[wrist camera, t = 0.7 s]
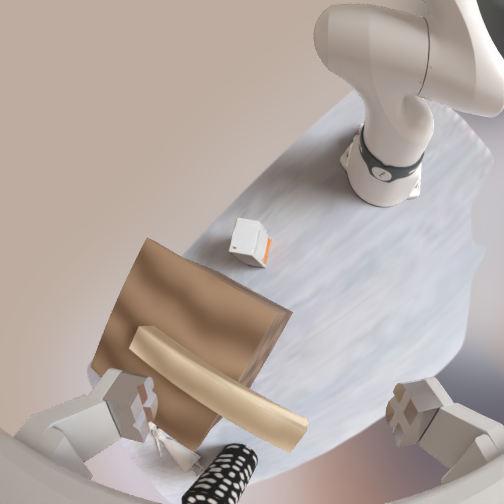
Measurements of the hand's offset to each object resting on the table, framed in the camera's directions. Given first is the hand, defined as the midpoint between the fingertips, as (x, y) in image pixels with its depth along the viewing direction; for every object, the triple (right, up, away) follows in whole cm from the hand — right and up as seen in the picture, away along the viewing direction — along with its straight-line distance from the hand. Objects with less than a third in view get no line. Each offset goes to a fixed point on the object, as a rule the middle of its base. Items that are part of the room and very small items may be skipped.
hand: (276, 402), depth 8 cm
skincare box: (+1, +5, +49) cm, 49 cm away
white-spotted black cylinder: (-4, -40, +40) cm, 57 cm away
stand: (-5, -11, +46) cm, 48 cm away
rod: (-4, -9, +19) cm, 22 cm away
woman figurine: (-19, -40, +44) cm, 62 cm away
